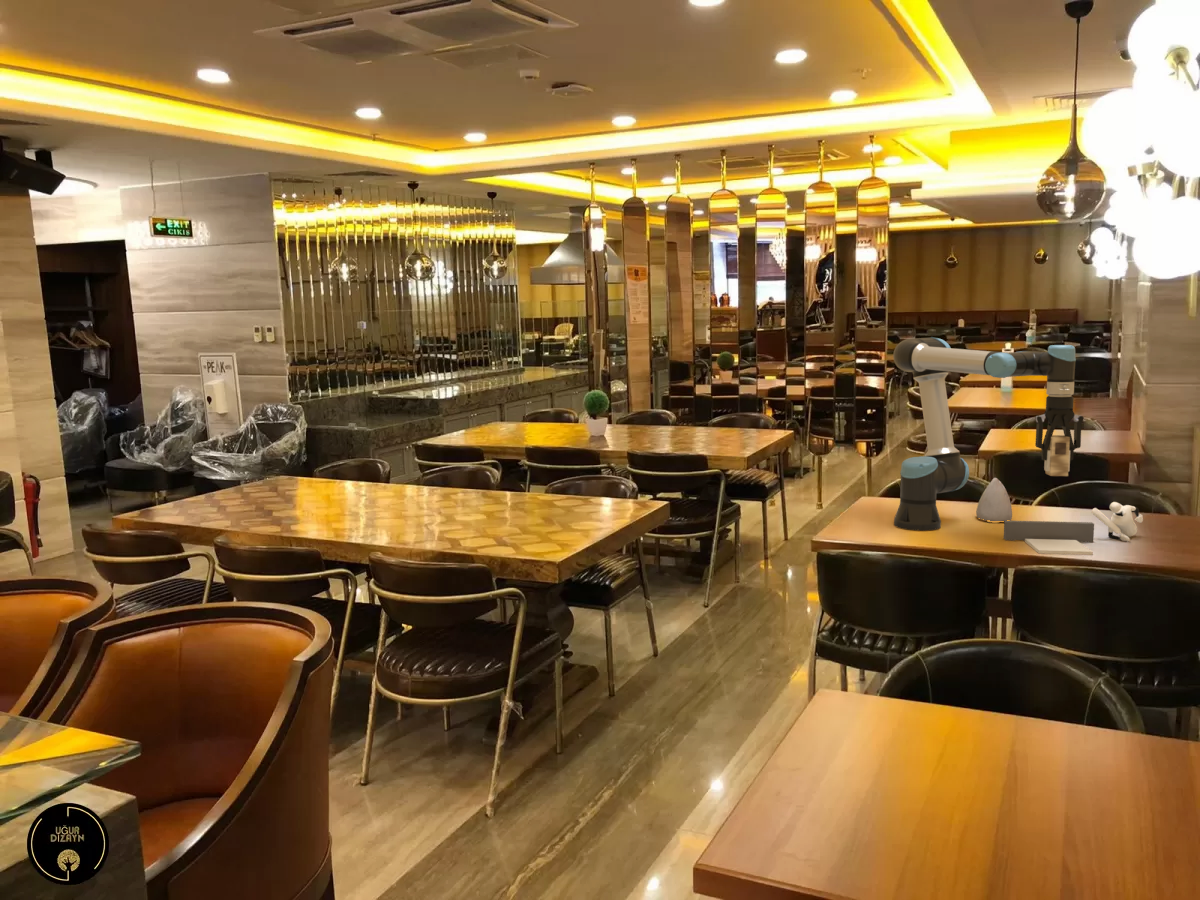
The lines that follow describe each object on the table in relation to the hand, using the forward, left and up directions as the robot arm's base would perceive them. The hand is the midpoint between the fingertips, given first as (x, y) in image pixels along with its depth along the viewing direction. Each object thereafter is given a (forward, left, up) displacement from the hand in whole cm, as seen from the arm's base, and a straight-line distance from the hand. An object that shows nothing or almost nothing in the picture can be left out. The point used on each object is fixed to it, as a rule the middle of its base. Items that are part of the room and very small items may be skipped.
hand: (1056, 470), depth 281 cm
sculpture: (-9, +35, -23) cm, 43 cm away
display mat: (0, -6, -23) cm, 24 cm away
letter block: (0, 0, -1) cm, 1 cm away
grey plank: (0, +4, -23) cm, 24 cm away
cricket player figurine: (+23, +9, -23) cm, 34 cm away
